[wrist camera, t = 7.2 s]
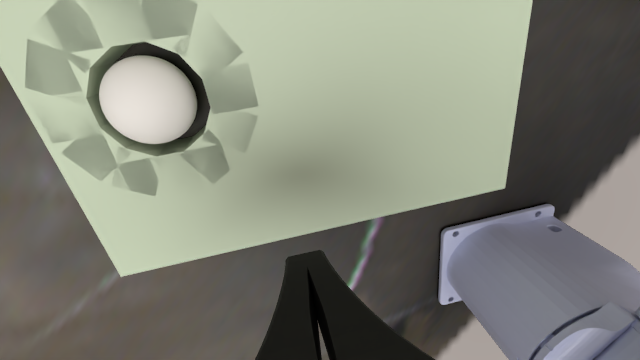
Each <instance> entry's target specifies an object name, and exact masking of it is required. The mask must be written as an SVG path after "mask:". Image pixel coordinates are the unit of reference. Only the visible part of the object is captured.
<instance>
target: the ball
mask: <svg viewBox="0 0 640 360" xmlns="http://www.w3.org/2000/svg"><path fill="white" fill-rule="evenodd" d="M99 100H100V105H101V108H102V111H103V113H104V115H105V117H106V118H107V120H108V121H109V123H110V124H111V125H112V126H113V127H114V128H115V129H116V130H117V131H118V132H120V133H121V134H123V135H124V136H126V137H128V138H130V139H132V140H135V141H138V142H141V143H147V144H161V143H166V142H170V141H172V140H175V139H177V138H179V137H180V136H181V135H183V134H184V133H185V132H186V131H187V130H188V129H189V128H190V126H191V125H192V123H193V121H194V119H195V116H196V112H197V98H196V94H195V91H194V88H193V86H192V84H191V82H190V81H189V79H188V78H187V77H186V75H185V74H184V73H183V72H182V71H181V70H180V69H179V68H177V67H176V66H175V65H173V64H171V63H170V62H168V61H166V60H163V59H160V58H158V57H153V56H146V55H138V56H131V57H128V58H124V59H122V60H120V61H118V62H117V63H115V64H114V65H113V66H111V67H110V68H109V69H108V70H107V72H106V73H105V75H104V77H103V78H102V81H101V84H100V89H99Z"/></svg>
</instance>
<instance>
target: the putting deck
mask: <svg viewBox="0 0 640 360" xmlns="http://www.w3.org/2000/svg"><path fill="white" fill-rule="evenodd" d="M532 1H533V0H0V66H1V68H2V70H3V72H4V73H5V75H6V77H7V79H8V80H9V82H10V84H11V86H12V87H13V89H14V91H15V93H16V94H17V96H18V98H19V100H20V101H21V103H22V105H23V107H24V108H25V110H26V112H27V114H28V115H29V117H30V119H31V120H32V122H33V124H34V126H35V127H36V129H37V131H38V133H39V134H40V136H41V138H42V140H43V141H44V143H45V145H46V147H47V148H48V150H49V152H50V154H51V155H52V157H53V159H54V161H55V162H56V164H57V166H58V168H59V169H60V171H61V173H62V175H63V176H64V178H65V180H66V182H67V183H68V185H69V187H70V189H71V190H72V192H73V194H74V196H75V197H76V199H77V201H78V203H79V204H80V206H81V208H82V210H83V211H84V213H85V215H86V217H87V218H88V220H89V222H90V224H91V225H92V227H93V229H94V230H95V232H96V234H97V236H98V237H99V239H100V241H101V243H102V244H103V246H104V248H105V250H106V251H107V253H108V255H109V257H110V258H111V260H112V262H113V264H114V265H115V267H116V269H117V271H118V272H119V274H120V276H121V277H122V276H126V275H130V274H135V273H139V272H143V271H148V270H152V269H156V268H161V267H165V266H169V265H174V264H178V263H182V262H187V261H191V260H195V259H200V258H204V257H209V256H213V255H217V254H222V253H226V252H230V251H235V250H239V249H243V248H248V247H252V246H256V245H261V244H265V243H269V242H274V241H278V240H282V239H287V238H291V237H295V236H300V235H304V234H309V233H313V232H317V231H322V230H326V229H330V228H335V227H339V226H343V225H348V224H352V223H356V222H361V221H365V220H369V219H374V218H378V217H382V216H387V215H391V214H395V213H400V212H404V211H409V210H413V209H417V208H422V207H426V206H430V205H435V204H439V203H443V202H448V201H452V200H456V199H461V198H465V197H469V196H474V195H478V194H482V193H487V192H491V191H495V190H500V189H504V188H505V185H506V178H507V171H508V164H509V158H510V151H511V144H512V137H513V130H514V124H515V117H516V110H517V103H518V96H519V90H520V83H521V76H522V69H523V62H524V55H525V49H526V42H527V35H528V28H529V21H530V15H531V8H532ZM147 42H148V43H150V44H153V45H156V46H158V47H161V48H164V49H166V50H169V51H172V52H175V53H177V54H179V55H180V56H181V57H182V58H183V59H184V60H185V62H186V63H187V64H188V65H189V66H190V67H191V68H192V69H193V70H194V71H195V72H196V73H197V74H198V75H199V76H200V77H201V78H202V80H203V84H204V87H205V90H206V94H207V97H208V100H209V104H210V107H211V109H210V113H209V116H208V120H207V124H206V126H204V127H203V128H202V129H201V130H200V131H199V132H198V133H197V134H195V135H194V136H192V137H187V138H182V139H176V140H172V141H170V142H166V143H161V144H147V143H141V142H138V141H135V140H132V139H130V138H128V137H126V136H124V135H123V134H121V133H120V132H118V131H117V130H116V129H115V128H114V127H113V126H112V125H111V124H110V123H109V121H108V120H107V118H106V117H105V115H104V113H103V111H102V108H101V105H100V100H99V89H100V84H101V81H102V78H103V77H104V75H105V73H106V72H107V70H108V69H109V68H110V67H111V66H113V65H114V62H115V61H116V60H117V59H118V58H120V57H121V56H122V55H123V54H124V53H125V52H126V51H127V50H128V49H129V48H130V47H131V46H132V45H134V44H140V43H147Z"/></svg>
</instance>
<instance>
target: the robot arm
mask: <svg viewBox="0 0 640 360" xmlns="http://www.w3.org/2000/svg"><path fill="white" fill-rule="evenodd" d="M554 210H555V208H554V206H552V205H551V204H544V205H540V206H536V207H532V208H528V209H524V210H519V211H515V212H511V213H507V214H503V215H499V216H494V217H490V218H486V219H482V220H478V221H473V222H469V223H465V224H461V225H457V226H453V227H448V228H446V229H444V230H443V231H442V233H441V248H440V270H439V293H438V300H439V302H440V303H441V304H442V305H446V304H449V303H453V302H457V301H461V300H463V301H464V303H465V304H466V305H467V307H468V308H469V309H470V310H471V312H472V313H473V314H474V316H475V317H476V318H477V319H478V321H479V322H480V323H481V325H482V326H483V327H484V328H485V330H486V331H487V332H488V334H489V335H490V336H491V337H492V339H493V340H494V341H495V343H496V344H497V345H498V346H499V348H500V349H501V350H502V351H503V353H504V354H505V355H506V357H507V358H508V359H509V360H640V273H639V272H638V271H637V270H636V269H635V268H634V267H633V266H632V265H631V264H629V263H628V262H627V261H625V260H624V259H622V258H621V257H619V256H617V255H616V254H614V253H612V252H611V251H609V250H607V249H606V248H604V247H603V246H601V245H599V244H598V243H596V242H594V241H593V240H591V239H589V238H588V237H586V236H584V235H583V234H581V233H580V232H578V231H576V230H575V229H573V228H571V227H570V226H568V225H567V224H565V223H563V222H562V221H560V220H558V219H557V218H555V217H554V216H553V215H554ZM454 232H455V233H454ZM453 233H454V234H453ZM317 320H318V321H317ZM318 323H319V327H320V330H321V333H322V336H323V340H324V343H325V346H326V349H327V353H328V356H329V359H330V360H435V359H433V358H432V357H430V356H429V355H427V354H426V353H424V352H423V351H421V350H420V349H419V348H417V347H416V346H414V345H413V344H412V343H410V342H409V341H408V340H406V339H405V338H403V337H402V336H401V335H399V334H398V333H397V332H395V331H394V330H393V329H392V328H391V327H389V326H388V325H387V324H386V323H385V322H383V321H382V320H381V319H380V318H379V317H378V316H377V315H375V314H374V313H373V312H372V311H371V310H370V309H369V308H368V307H367V306H366V305H365V304H364V303H363V302H362V301H361V300H360V299H359V298H358V297H357V296H356V295H355V294H354V293H353V291H352V290H351V289H350V288H349V287H348V286H347V285H346V283H345V282H344V281H343V280H342V279H341V277H340V276H339V275H338V274H337V272H336V271H335V270H334V268H333V267H332V265H331V264H330V262H329V261H328V259H327V258H326V256H325V254H324V252H323V251H321V250H318V251H313V252H309V253H304V254H300V255H295V256H291V257H288V258H287V259H286V266H285V273H284V279H283V283H282V288H281V291H280V295H279V299H278V302H277V306H276V309H275V312H274V314H273V317H272V320H271V323H270V326H269V329H268V331H267V334H266V336H265V339H264V341H263V343H262V346H261V348H260V350H259V352H258V355H257V357H256V359H255V360H322V357H321V348H320V339H319V330H318Z"/></svg>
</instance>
